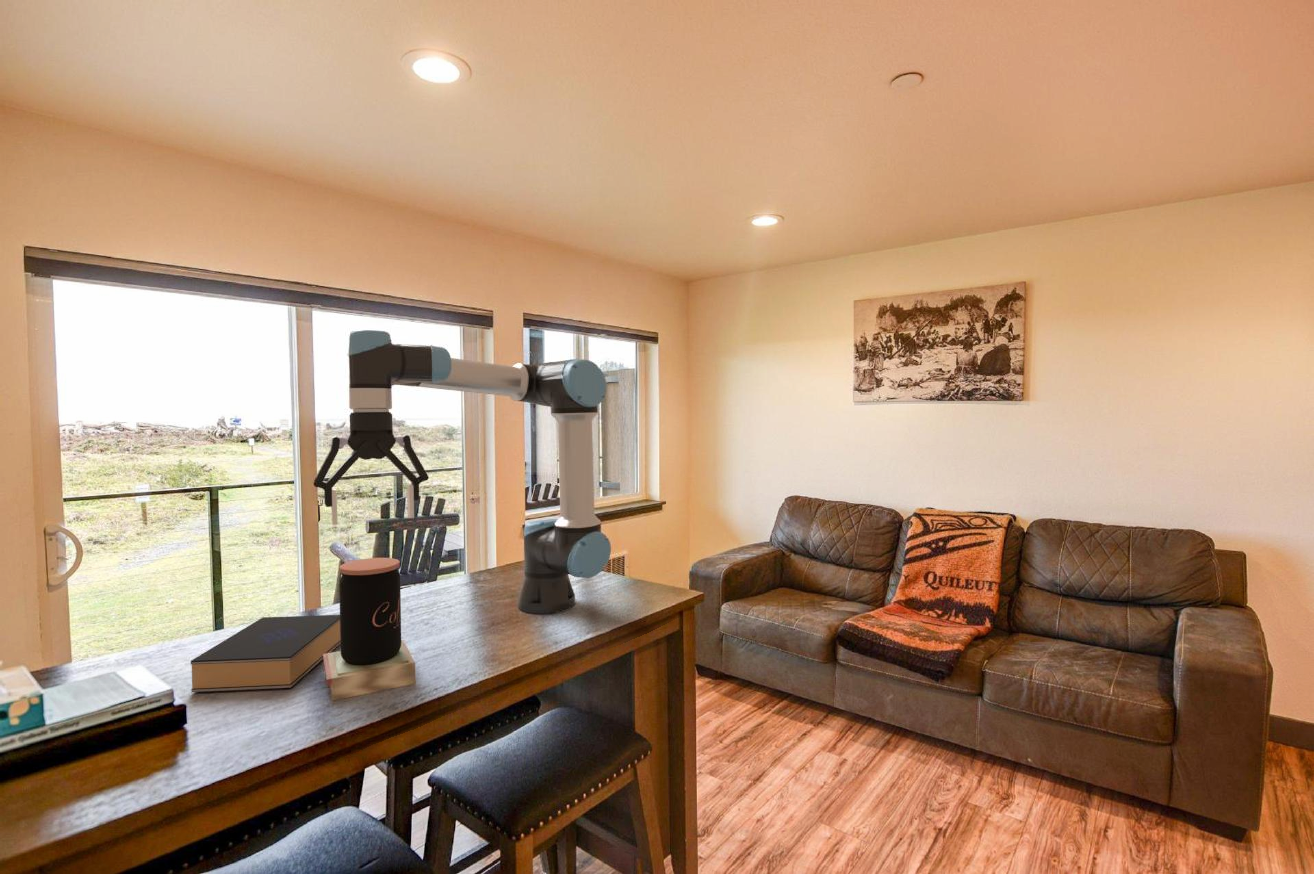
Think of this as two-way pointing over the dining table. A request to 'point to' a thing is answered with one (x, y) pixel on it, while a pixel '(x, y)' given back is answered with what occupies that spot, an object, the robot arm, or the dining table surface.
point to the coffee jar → (370, 610)
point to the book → (267, 654)
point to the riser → (367, 674)
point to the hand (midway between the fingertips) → (373, 520)
